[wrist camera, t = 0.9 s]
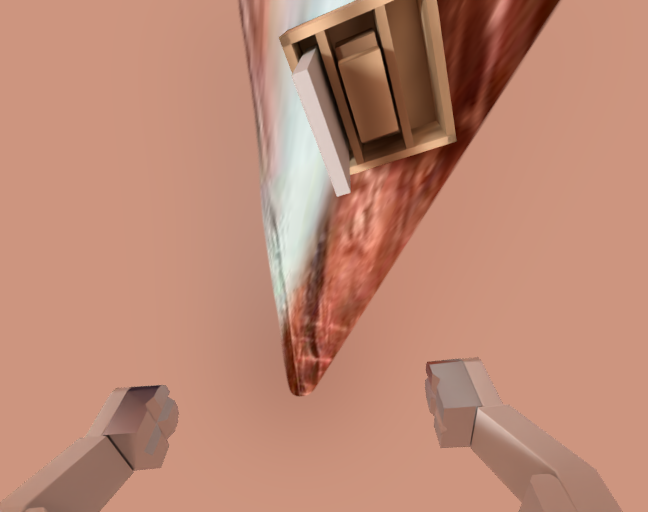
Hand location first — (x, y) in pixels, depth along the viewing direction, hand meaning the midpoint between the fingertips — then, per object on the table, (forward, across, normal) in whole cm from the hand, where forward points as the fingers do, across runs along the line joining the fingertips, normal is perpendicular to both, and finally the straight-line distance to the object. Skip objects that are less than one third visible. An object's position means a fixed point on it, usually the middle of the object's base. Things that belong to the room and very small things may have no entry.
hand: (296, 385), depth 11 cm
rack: (+34, -7, -5) cm, 35 cm away
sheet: (+34, -2, -4) cm, 34 cm away
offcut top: (+29, -6, -4) cm, 30 cm away
